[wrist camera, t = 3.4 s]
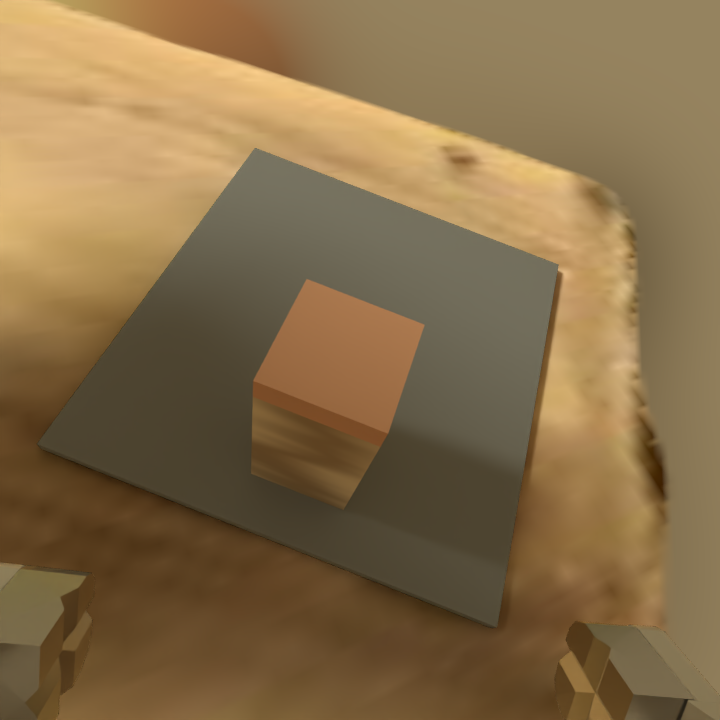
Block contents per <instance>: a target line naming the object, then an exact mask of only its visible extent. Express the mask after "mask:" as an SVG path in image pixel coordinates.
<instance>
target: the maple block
mask: <svg viewBox="0 0 720 720" xmlns="http://www.w3.org/2000/svg"><path fill="white" fill-rule="evenodd" d="M423 328H424V324H422V323H419V322H416V321H414V320H411V319H409V318H406V317H404V316H401V315H398V314H396V313H393V312H391V311H388V310H385V309H383V308H380V307H378V306H375V305H373V304H370V303H367V302H365V301H362V300H360V299H357V298H355V297H352V296H349V295H347V294H344V293H342V292H339V291H337V290H334V289H331V288H329V287H326V286H324V285H321V284H319V283H316V282H313V281H311V280H308V279H306V281H305V283H304V285H303V287H302V289H301V291H300V293H299V294H298V296H297V298H296V300H295V302H294V304H293V306H292V308H291V310H290V312H289V313H288V315H287V317H286V319H285V321H284V323H283V325H282V327H281V329H280V331H279V332H278V334H277V336H276V338H275V340H274V342H273V344H272V346H271V348H270V350H269V352H268V353H267V355H266V357H265V359H264V361H263V363H262V365H261V367H260V369H259V371H258V372H257V374H256V376H255V378H254V380H253V410H252V453H251V474H253V475H256V476H258V477H261V478H263V479H266V480H268V481H271V482H273V483H276V484H279V485H281V486H284V487H286V488H289V489H291V490H294V491H296V492H299V493H301V494H304V495H306V496H309V497H311V498H314V499H316V500H319V501H321V502H324V503H326V504H329V505H332V506H334V507H337V508H339V509H342V510H344V508H345V506H346V505H347V503H348V501H349V500H350V498H351V496H352V494H353V493H354V491H355V489H356V488H357V486H358V484H359V482H360V481H361V479H362V477H363V476H364V474H365V472H366V471H367V469H368V467H369V465H370V464H371V462H372V460H373V459H374V457H375V455H376V454H377V452H378V450H379V448H380V447H381V445H382V443H383V442H384V440H385V438H386V436H387V435H388V433H389V430H390V427H391V424H392V421H393V418H394V415H395V412H396V409H397V406H398V403H399V400H400V397H401V394H402V391H403V388H404V385H405V382H406V379H407V376H408V373H409V370H410V367H411V364H412V361H413V358H414V355H415V352H416V349H417V346H418V343H419V340H420V337H421V334H422V331H423Z"/></svg>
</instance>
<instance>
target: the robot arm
mask: <svg viewBox="0 0 720 720" xmlns="http://www.w3.org/2000/svg"><path fill="white" fill-rule="evenodd" d="M94 593H95V577H94V575H93V574H92V573H89V572H80V571H72V570H64V569H56V568H47V567H39V566H31V565H27V566H25V565H20V564H11V563H1V562H0V720H56V718H57V716H58V714H59V703H60V695H62V694H63V693H65V692H66V691H67V690H69V689H70V688H72V687H73V686H74V684H75V682H76V680H77V678H78V676H79V674H80V672H81V670H82V667H83V664H84V661H85V658H86V655H87V652H88V649H89V644H90V639H91V634H92V623H93V620H92V618H91V617H90V615H89V614H88V613H87V611H86V609H87V608H88V606H89V604H90V603H91V601H92V599H93V597H94ZM566 642H567V644H568V646H569V649H570V652H569V653H567V654H566V655H565V656H564V657H563V658H562V659H561V660H559V662H558V666H557V670H556V674H555V696H556V699H557V703H558V707H559V710H560V712H561V714H562V716H563V718H564V720H720V695H719V694H718V693H717V692H716V691H715V689H714V688H713V687H712V686H711V685H710V684H709V682H708V681H707V680H706V679H705V678H704V677H703V676H702V674H701V673H700V672H699V671H698V670H697V669H696V668H695V666H694V665H693V664H692V663H691V662H690V660H689V659H688V658H687V657H686V656H685V655H684V653H683V652H682V651H681V650H680V649H679V648H678V647H677V646H676V644H675V643H674V642H673V641H672V640H671V638H670V637H669V636H668V635H667V634H666V633H665V632H664V631H662V630H661V629H659V628H657V627H656V626H641V625H628V626H627V625H616V624H606V623H595V622H584V621H575V622H574V623H573V624H572V625H571V627H570V628H569V631H568V634H567V637H566Z"/></svg>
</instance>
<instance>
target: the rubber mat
mask: <svg viewBox="0 0 720 720" xmlns="http://www.w3.org/2000/svg"><path fill="white" fill-rule="evenodd" d="M557 271H558V264H555V263H553V262H550V261H548V260H545V259H542V258H540V257H537V256H535V255H532V254H529V253H527V252H524V251H522V250H519V249H516V248H514V247H511V246H509V245H506V244H503V243H501V242H498V241H496V240H493V239H490V238H488V237H485V236H483V235H480V234H477V233H475V232H472V231H470V230H467V229H464V228H462V227H459V226H457V225H454V224H451V223H449V222H446V221H444V220H441V219H438V218H436V217H433V216H431V215H428V214H426V213H423V212H420V211H418V210H415V209H413V208H410V207H407V206H405V205H402V204H400V203H397V202H394V201H392V200H389V199H387V198H384V197H381V196H379V195H376V194H374V193H371V192H368V191H366V190H363V189H361V188H358V187H355V186H353V185H350V184H348V183H345V182H342V181H340V180H337V179H335V178H332V177H329V176H327V175H324V174H322V173H319V172H316V171H314V170H311V169H309V168H306V167H303V166H301V165H298V164H296V163H293V162H290V161H288V160H285V159H283V158H280V157H277V156H275V155H272V154H270V153H267V152H264V151H262V150H259V149H257V148H255V149H254V150H253V151H252V153H251V154H250V156H249V157H248V158H247V160H246V161H245V162H244V164H243V165H242V166H241V168H240V169H239V170H238V172H237V173H236V174H235V176H234V177H233V179H232V180H231V181H230V183H229V184H228V185H227V187H226V188H225V189H224V191H223V192H222V193H221V195H220V196H219V198H218V199H217V200H216V202H215V203H214V204H213V206H212V207H211V208H210V210H209V211H208V212H207V214H206V215H205V217H204V218H203V219H202V221H201V222H200V223H199V225H198V226H197V227H196V229H195V230H194V231H193V233H192V234H191V236H190V237H189V238H188V240H187V241H186V242H185V244H184V245H183V246H182V248H181V249H180V250H179V252H178V253H177V255H176V256H175V257H174V259H173V260H172V261H171V263H170V264H169V265H168V267H167V268H166V269H165V271H164V272H163V273H162V275H161V276H160V278H159V279H158V280H157V282H156V283H155V284H154V286H153V287H152V288H151V290H150V291H149V292H148V294H147V295H146V297H145V298H144V299H143V301H142V302H141V303H140V305H139V306H138V307H137V309H136V310H135V311H134V313H133V314H132V316H131V317H130V318H129V320H128V321H127V322H126V324H125V325H124V326H123V328H122V329H121V330H120V332H119V333H118V335H117V336H116V337H115V339H114V340H113V341H112V343H111V344H110V345H109V347H108V348H107V349H106V351H105V352H104V354H103V355H102V356H101V358H100V359H99V360H98V362H97V363H96V364H95V366H94V367H93V368H92V370H91V371H90V372H89V374H88V375H87V377H86V378H85V379H84V381H83V382H82V383H81V385H80V386H79V387H78V389H77V390H76V391H75V393H74V394H73V396H72V397H71V398H70V400H69V401H68V402H67V404H66V405H65V406H64V408H63V409H62V410H61V412H60V413H59V415H58V416H57V417H56V419H55V420H54V421H53V423H52V424H51V425H50V427H49V428H48V429H47V431H46V432H45V434H44V435H43V436H42V438H41V439H40V440H39V442H38V443H37V445H38V446H39V447H40V448H41V449H43V450H46V451H48V452H51V453H53V454H56V455H58V456H61V457H63V458H66V459H68V460H71V461H73V462H76V463H78V464H81V465H83V466H86V467H88V468H91V469H93V470H96V471H98V472H101V473H103V474H106V475H108V476H111V477H113V478H116V479H118V480H121V481H123V482H126V483H128V484H131V485H133V486H136V487H138V488H141V489H143V490H146V491H149V492H151V493H154V494H156V495H159V496H161V497H164V498H166V499H169V500H171V501H174V502H176V503H179V504H181V505H184V506H186V507H189V508H191V509H194V510H196V511H199V512H201V513H204V514H206V515H209V516H211V517H214V518H216V519H219V520H221V521H224V522H226V523H229V524H231V525H234V526H236V527H239V528H241V529H244V530H246V531H249V532H252V533H254V534H257V535H259V536H262V537H264V538H267V539H269V540H272V541H274V542H277V543H279V544H282V545H284V546H287V547H289V548H292V549H294V550H297V551H299V552H302V553H304V554H307V555H309V556H312V557H314V558H317V559H319V560H322V561H324V562H327V563H329V564H332V565H334V566H337V567H339V568H342V569H344V570H347V571H349V572H352V573H355V574H357V575H360V576H362V577H365V578H367V579H370V580H372V581H375V582H377V583H380V584H382V585H385V586H387V587H390V588H392V589H395V590H397V591H400V592H402V593H405V594H407V595H410V596H412V597H415V598H417V599H420V600H422V601H425V602H427V603H430V604H432V605H435V606H437V607H440V608H442V609H445V610H447V611H450V612H452V613H455V614H458V615H460V616H463V617H465V618H468V619H470V620H473V621H475V622H478V623H480V624H483V625H485V626H488V627H490V628H496V627H497V625H498V619H499V613H500V607H501V602H502V596H503V590H504V584H505V578H506V572H507V566H508V560H509V554H510V548H511V543H512V537H513V531H514V525H515V519H516V513H517V507H518V501H519V495H520V489H521V484H522V478H523V472H524V466H525V460H526V454H527V448H528V442H529V436H530V430H531V425H532V419H533V413H534V407H535V401H536V395H537V389H538V383H539V377H540V371H541V366H542V360H543V354H544V348H545V342H546V336H547V330H548V324H549V318H550V313H551V307H552V301H553V295H554V289H555V283H556V277H557ZM306 279H308V280H311V281H313V282H316V283H319V284H321V285H324V286H326V287H329V288H331V289H334V290H337V291H339V292H342V293H344V294H347V295H349V296H352V297H355V298H357V299H360V300H362V301H365V302H367V303H370V304H373V305H375V306H378V307H380V308H383V309H385V310H388V311H391V312H393V313H396V314H398V315H401V316H404V317H406V318H409V319H411V320H414V321H416V322H419V323H422V324H424V328H423V331H422V334H421V337H420V340H419V343H418V346H417V349H416V352H415V355H414V358H413V361H412V364H411V367H410V370H409V373H408V376H407V379H406V382H405V385H404V388H403V391H402V394H401V397H400V400H399V403H398V406H397V409H396V412H395V415H394V418H393V421H392V424H391V427H390V430H389V433H388V435H387V436H386V438H385V440H384V442H383V443H382V445H381V447H380V448H379V450H378V452H377V454H376V455H375V457H374V459H373V460H372V462H371V464H370V465H369V467H368V469H367V471H366V472H365V474H364V476H363V477H362V479H361V481H360V482H359V484H358V486H357V488H356V489H355V491H354V493H353V494H352V496H351V498H350V500H349V501H348V503H347V505H346V506H345V508H344V510H342V509H339V508H337V507H334V506H332V505H329V504H326V503H324V502H321V501H319V500H316V499H314V498H311V497H309V496H306V495H304V494H301V493H299V492H296V491H294V490H291V489H289V488H286V487H284V486H281V485H279V484H276V483H273V482H271V481H268V480H266V479H263V478H261V477H258V476H256V475H253V474H251V453H252V410H253V380H254V378H255V376H256V374H257V372H258V371H259V369H260V367H261V365H262V363H263V361H264V359H265V357H266V355H267V353H268V352H269V350H270V348H271V346H272V344H273V342H274V340H275V338H276V336H277V334H278V332H279V331H280V329H281V327H282V325H283V323H284V321H285V319H286V317H287V315H288V313H289V312H290V310H291V308H292V306H293V304H294V302H295V300H296V298H297V296H298V294H299V293H300V291H301V289H302V287H303V285H304V283H305V281H306Z"/></svg>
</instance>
